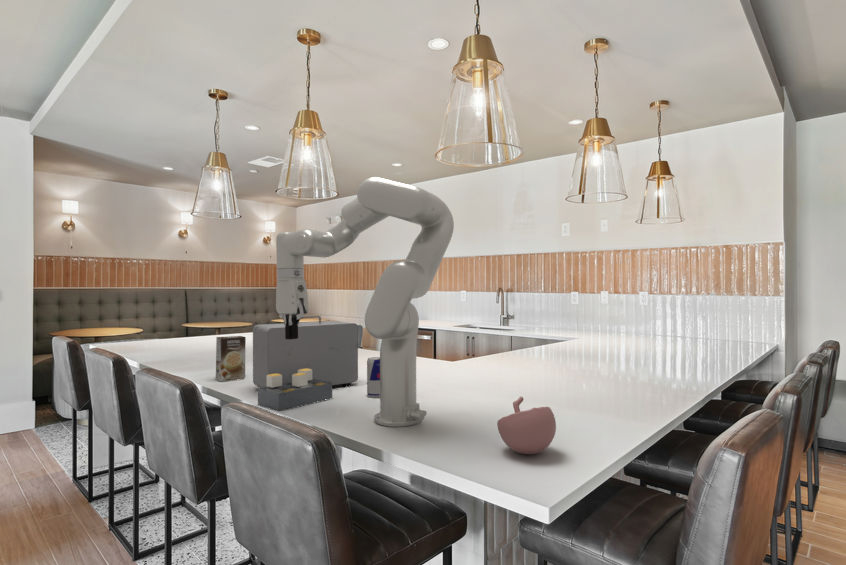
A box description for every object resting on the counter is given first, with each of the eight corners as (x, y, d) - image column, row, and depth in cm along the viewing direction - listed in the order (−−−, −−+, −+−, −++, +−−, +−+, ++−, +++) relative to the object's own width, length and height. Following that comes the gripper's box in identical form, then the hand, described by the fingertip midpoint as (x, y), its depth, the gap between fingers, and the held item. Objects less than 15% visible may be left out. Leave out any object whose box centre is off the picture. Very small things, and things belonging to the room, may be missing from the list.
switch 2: (312, 379, 149) (312, 369, 149) (303, 381, 146) (303, 370, 146) (306, 378, 151) (306, 368, 151) (297, 380, 148) (297, 369, 148)
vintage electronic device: (335, 377, 180) (335, 312, 180) (358, 385, 165) (357, 314, 165) (251, 388, 161) (251, 316, 161) (267, 398, 146) (267, 319, 147)
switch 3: (307, 384, 141) (307, 373, 141) (298, 386, 139) (298, 375, 139) (301, 383, 143) (301, 372, 143) (292, 385, 140) (292, 374, 141)
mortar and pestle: (529, 439, 106) (529, 389, 106) (568, 456, 96) (568, 400, 96) (486, 448, 101) (486, 395, 101) (523, 467, 90) (522, 408, 90)
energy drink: (383, 398, 146) (382, 359, 146) (366, 398, 146) (365, 359, 147) (384, 394, 152) (384, 357, 152) (368, 394, 152) (368, 357, 152)
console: (332, 398, 146) (332, 381, 146) (278, 411, 131) (278, 392, 131) (310, 393, 153) (310, 377, 153) (257, 405, 138) (257, 387, 138)
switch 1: (282, 385, 140) (282, 374, 140) (272, 387, 138) (272, 376, 138) (276, 384, 142) (276, 373, 142) (266, 386, 140) (266, 374, 140)
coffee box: (220, 382, 171) (220, 338, 171) (215, 379, 176) (215, 337, 176) (245, 378, 177) (245, 336, 177) (240, 376, 182) (240, 335, 182)
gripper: (317, 274, 133) (318, 339, 132) (286, 276, 142) (288, 336, 142) (294, 274, 127) (295, 341, 127) (264, 276, 137) (265, 338, 136)
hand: (291, 338), depth 134 cm, fingers closed
